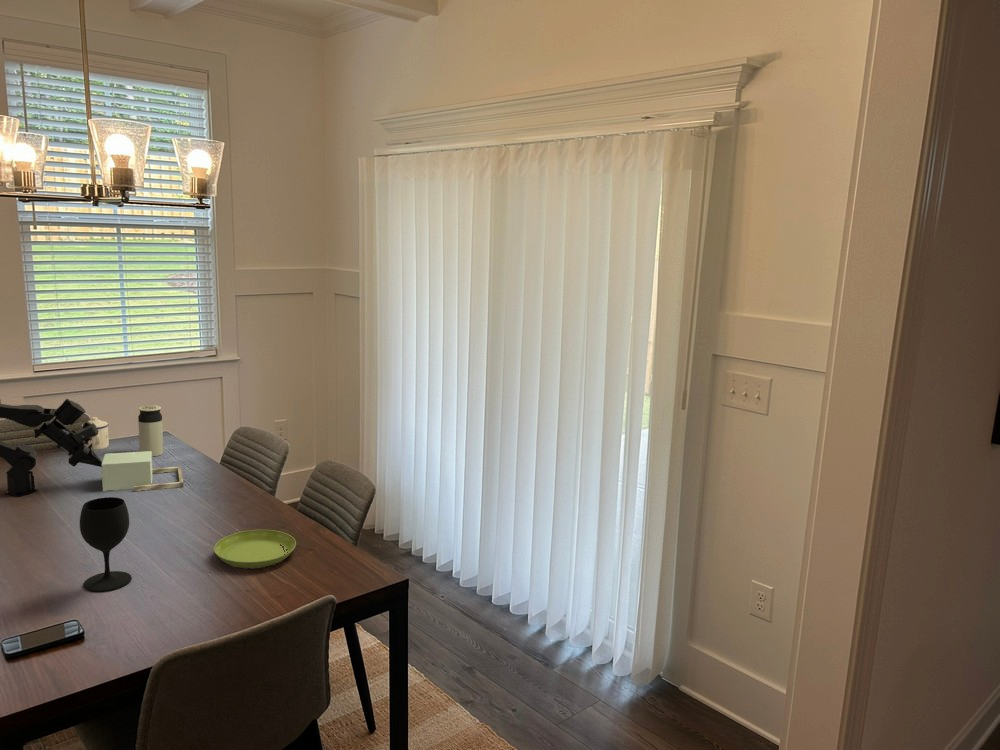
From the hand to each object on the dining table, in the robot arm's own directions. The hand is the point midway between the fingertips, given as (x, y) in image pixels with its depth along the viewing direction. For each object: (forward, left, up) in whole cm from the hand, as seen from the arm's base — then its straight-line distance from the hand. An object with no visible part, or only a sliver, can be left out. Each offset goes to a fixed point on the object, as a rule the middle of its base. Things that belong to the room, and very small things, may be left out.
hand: (102, 465), depth 240 cm
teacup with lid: (+29, +36, -7) cm, 46 cm away
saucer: (-20, -77, -7) cm, 80 cm away
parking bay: (+12, -11, -7) cm, 18 cm away
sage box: (+5, -5, -7) cm, 10 cm away
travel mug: (+33, +13, -7) cm, 36 cm away
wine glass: (-48, -56, -7) cm, 74 cm away
